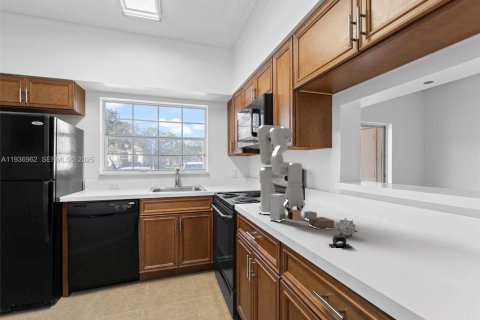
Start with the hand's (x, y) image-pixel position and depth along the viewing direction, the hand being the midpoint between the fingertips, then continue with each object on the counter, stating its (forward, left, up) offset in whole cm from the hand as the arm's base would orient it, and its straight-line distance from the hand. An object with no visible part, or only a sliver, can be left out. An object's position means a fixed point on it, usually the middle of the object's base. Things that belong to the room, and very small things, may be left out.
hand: (294, 218), depth 125 cm
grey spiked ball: (+27, +8, -4) cm, 28 cm away
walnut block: (+10, +10, -4) cm, 14 cm away
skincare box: (-12, -2, -4) cm, 13 cm away
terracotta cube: (0, 0, -1) cm, 1 cm away
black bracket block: (+34, -6, -4) cm, 35 cm away
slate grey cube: (-4, +16, -4) cm, 17 cm away
